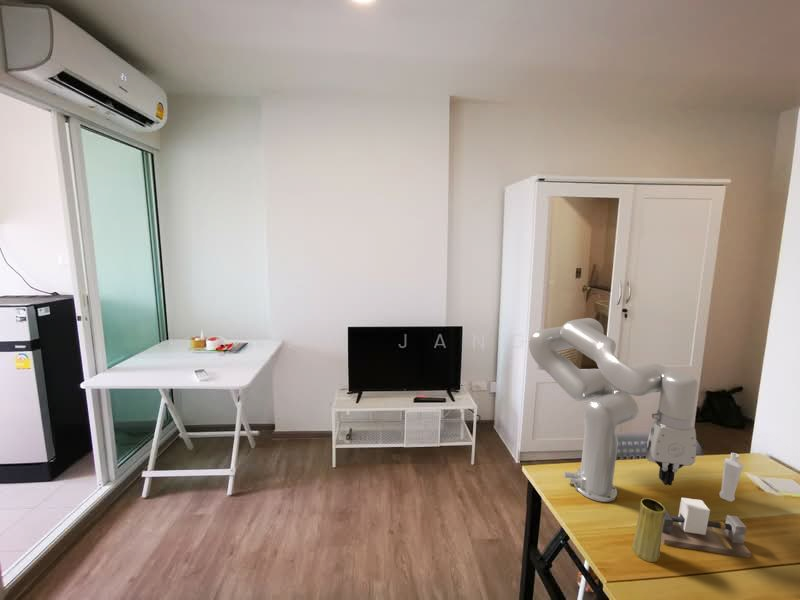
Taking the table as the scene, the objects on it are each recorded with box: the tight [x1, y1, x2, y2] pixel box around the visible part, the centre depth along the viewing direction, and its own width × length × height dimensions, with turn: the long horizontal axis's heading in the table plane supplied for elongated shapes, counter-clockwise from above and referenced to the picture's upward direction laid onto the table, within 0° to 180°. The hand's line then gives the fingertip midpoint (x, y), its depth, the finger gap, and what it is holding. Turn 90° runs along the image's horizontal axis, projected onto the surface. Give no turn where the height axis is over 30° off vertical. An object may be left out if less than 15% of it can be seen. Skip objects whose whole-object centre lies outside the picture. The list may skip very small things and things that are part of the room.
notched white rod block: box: [677, 497, 711, 535], centre depth 105 cm, size 5×4×8 cm
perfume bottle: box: [718, 452, 744, 502], centre depth 121 cm, size 5×4×15 cm
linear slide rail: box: [661, 508, 752, 559], centre depth 106 cm, size 20×10×6 cm, turn 78°
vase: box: [631, 497, 666, 563], centre depth 99 cm, size 6×6×14 cm
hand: (665, 482), depth 105 cm, fingers closed
